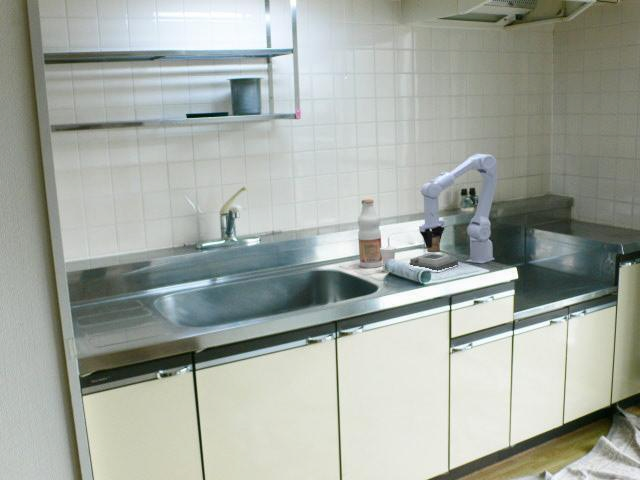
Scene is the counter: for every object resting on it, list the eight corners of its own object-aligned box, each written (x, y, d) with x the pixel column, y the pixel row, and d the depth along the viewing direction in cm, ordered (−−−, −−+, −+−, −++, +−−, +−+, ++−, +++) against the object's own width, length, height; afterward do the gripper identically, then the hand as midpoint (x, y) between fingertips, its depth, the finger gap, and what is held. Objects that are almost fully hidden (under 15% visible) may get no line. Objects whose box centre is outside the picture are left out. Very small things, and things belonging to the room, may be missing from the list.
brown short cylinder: (432, 249, 281) (431, 234, 279) (442, 250, 277) (442, 235, 276) (424, 251, 277) (424, 236, 276) (435, 253, 274) (434, 237, 273)
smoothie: (391, 273, 273) (389, 239, 271) (378, 272, 277) (376, 238, 274) (399, 270, 278) (398, 236, 276) (386, 268, 282) (384, 235, 279)
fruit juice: (355, 266, 291) (351, 201, 286) (372, 262, 296) (368, 198, 291) (369, 269, 283) (365, 202, 278) (387, 265, 288) (383, 199, 283)
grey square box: (430, 262, 288) (429, 251, 288) (458, 265, 278) (457, 254, 278) (409, 269, 279) (408, 258, 278) (437, 273, 269) (437, 261, 268)
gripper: (428, 216, 267) (430, 250, 269) (450, 210, 277) (451, 243, 279) (414, 215, 272) (415, 248, 274) (436, 209, 282) (437, 242, 284)
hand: (432, 246), depth 277 cm, fingers closed on brown short cylinder, 5 cm apart
